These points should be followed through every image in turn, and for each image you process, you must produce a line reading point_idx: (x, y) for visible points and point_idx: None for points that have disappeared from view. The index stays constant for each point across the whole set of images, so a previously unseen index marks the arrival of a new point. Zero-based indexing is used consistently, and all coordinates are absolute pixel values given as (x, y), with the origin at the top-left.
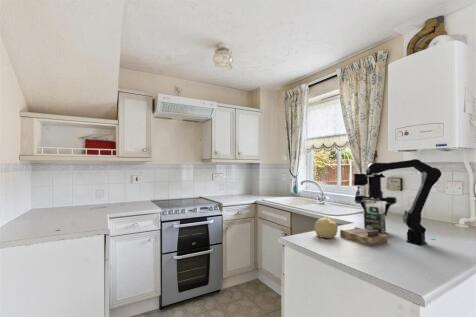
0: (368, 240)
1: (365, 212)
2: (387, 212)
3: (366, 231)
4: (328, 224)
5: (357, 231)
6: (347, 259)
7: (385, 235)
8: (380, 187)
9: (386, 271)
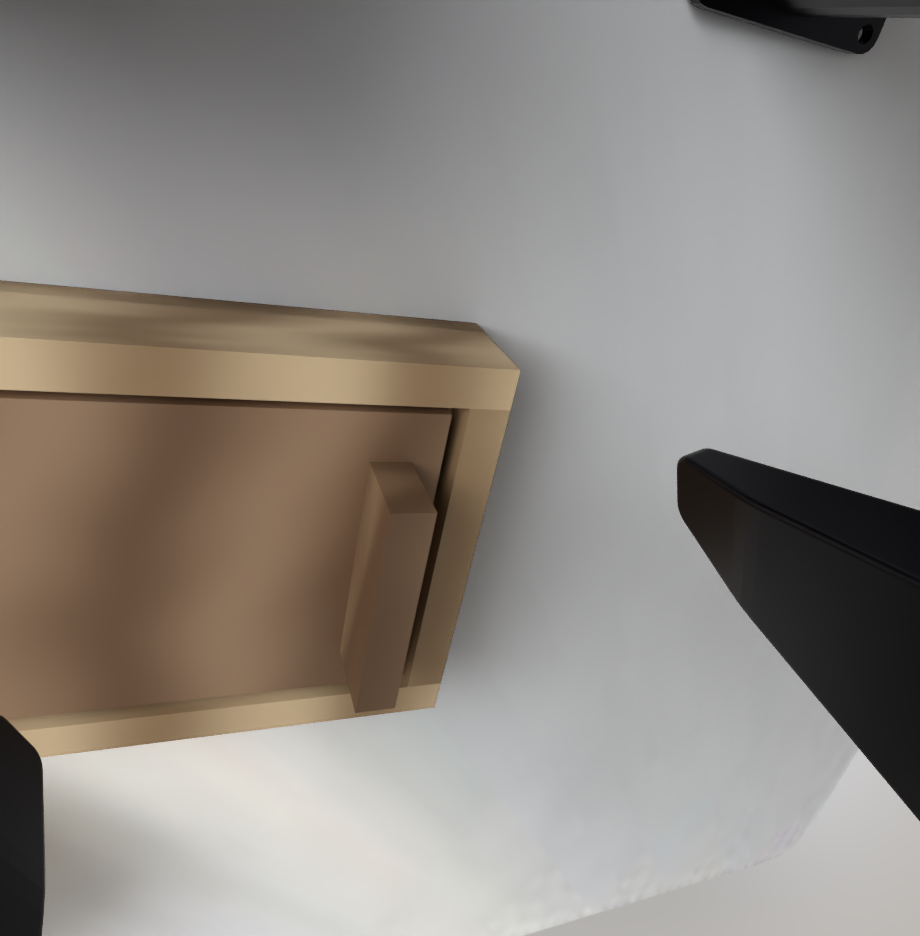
0: None
1: (11, 849)
2: (841, 507)
3: (120, 435)
4: None
5: (29, 584)
6: (437, 922)
7: (504, 404)
8: None
9: (658, 839)
